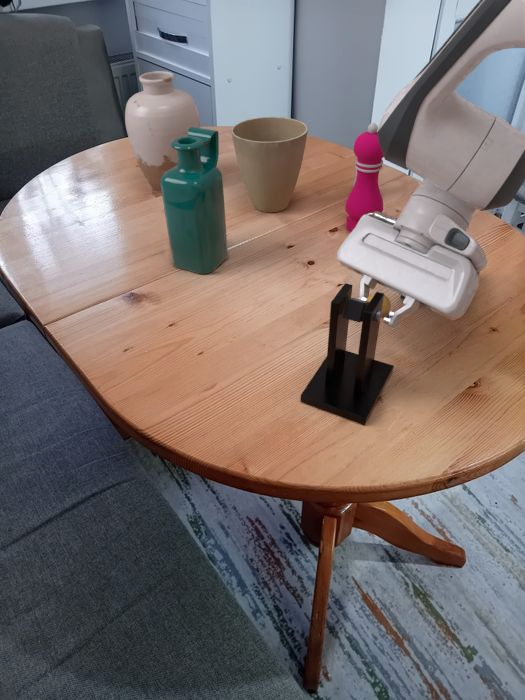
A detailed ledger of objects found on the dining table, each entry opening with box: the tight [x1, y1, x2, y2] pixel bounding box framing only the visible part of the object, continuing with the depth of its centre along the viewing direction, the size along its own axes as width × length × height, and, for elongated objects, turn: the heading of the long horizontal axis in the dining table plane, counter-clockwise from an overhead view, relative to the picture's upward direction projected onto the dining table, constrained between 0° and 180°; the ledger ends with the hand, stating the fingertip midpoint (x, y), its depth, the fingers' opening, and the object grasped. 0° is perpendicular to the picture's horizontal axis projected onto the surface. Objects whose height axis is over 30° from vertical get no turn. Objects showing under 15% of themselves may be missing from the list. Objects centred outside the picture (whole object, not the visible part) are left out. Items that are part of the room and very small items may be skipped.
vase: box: [124, 70, 201, 192], centre depth 117 cm, size 16×16×23 cm
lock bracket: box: [299, 282, 395, 426], centre depth 68 cm, size 11×9×15 cm
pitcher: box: [161, 127, 229, 275], centre depth 92 cm, size 10×8×22 cm
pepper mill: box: [344, 122, 384, 233], centre depth 100 cm, size 7×7×20 cm
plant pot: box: [230, 116, 309, 213], centre depth 110 cm, size 15×15×16 cm
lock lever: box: [343, 292, 392, 323], centre depth 70 cm, size 14×4×4 cm
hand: (373, 317), depth 75 cm, fingers closed on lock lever, 4 cm apart
